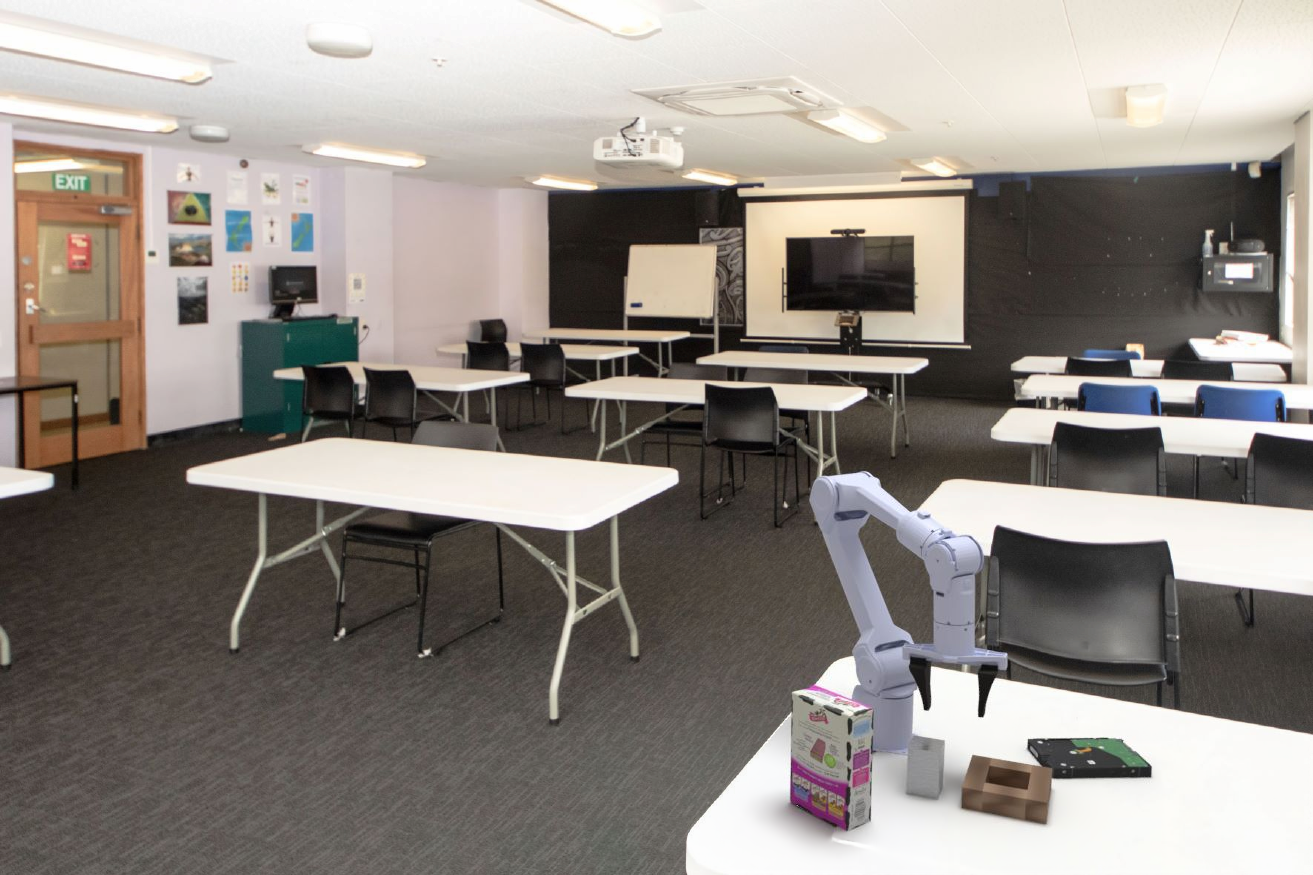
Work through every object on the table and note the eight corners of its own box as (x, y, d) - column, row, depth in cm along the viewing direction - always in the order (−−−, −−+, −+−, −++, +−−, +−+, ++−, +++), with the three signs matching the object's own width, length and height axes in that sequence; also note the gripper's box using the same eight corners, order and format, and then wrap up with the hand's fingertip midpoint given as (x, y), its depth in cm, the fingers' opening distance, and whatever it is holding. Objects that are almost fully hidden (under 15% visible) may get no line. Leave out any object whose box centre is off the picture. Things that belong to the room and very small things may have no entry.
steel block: (906, 794, 148) (907, 747, 147) (912, 780, 152) (913, 735, 151) (938, 800, 146) (939, 752, 145) (943, 786, 150) (944, 740, 149)
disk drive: (1052, 786, 152) (1152, 783, 153) (1053, 768, 152) (1153, 765, 153) (1025, 754, 163) (1119, 751, 163) (1026, 737, 162) (1120, 734, 163)
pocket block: (961, 811, 144) (962, 787, 144) (971, 776, 154) (972, 754, 154) (1046, 827, 140) (1047, 802, 139) (1051, 791, 150) (1052, 768, 149)
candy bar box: (873, 823, 141) (876, 707, 139) (847, 835, 138) (850, 716, 136) (813, 791, 150) (815, 682, 147) (788, 802, 147) (789, 690, 144)
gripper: (897, 622, 150) (898, 714, 151) (1003, 632, 144) (1002, 727, 145) (907, 610, 157) (908, 698, 158) (1009, 619, 150) (1009, 710, 152)
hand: (954, 711), depth 152 cm, fingers open, 7 cm apart
